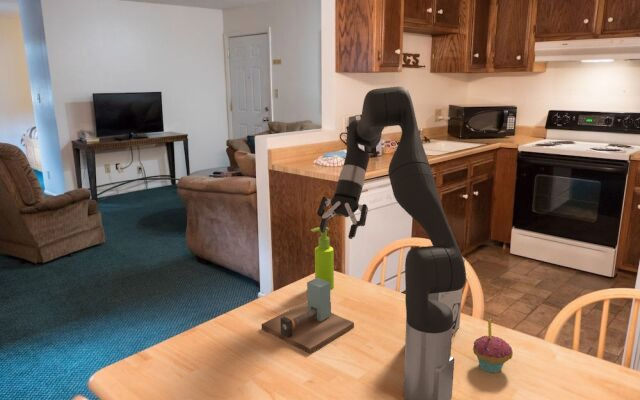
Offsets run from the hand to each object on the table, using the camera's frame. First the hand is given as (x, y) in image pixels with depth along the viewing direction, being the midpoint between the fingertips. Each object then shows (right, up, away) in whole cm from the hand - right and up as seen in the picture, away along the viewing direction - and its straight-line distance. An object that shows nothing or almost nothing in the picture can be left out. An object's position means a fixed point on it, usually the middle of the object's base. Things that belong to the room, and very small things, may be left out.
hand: (336, 235), depth 140 cm
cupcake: (+35, -29, -27) cm, 53 cm away
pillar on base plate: (-8, -24, -9) cm, 27 cm away
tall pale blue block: (-5, -22, -6) cm, 23 cm away
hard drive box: (+25, -25, -13) cm, 38 cm away
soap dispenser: (-4, -18, +15) cm, 24 cm away
